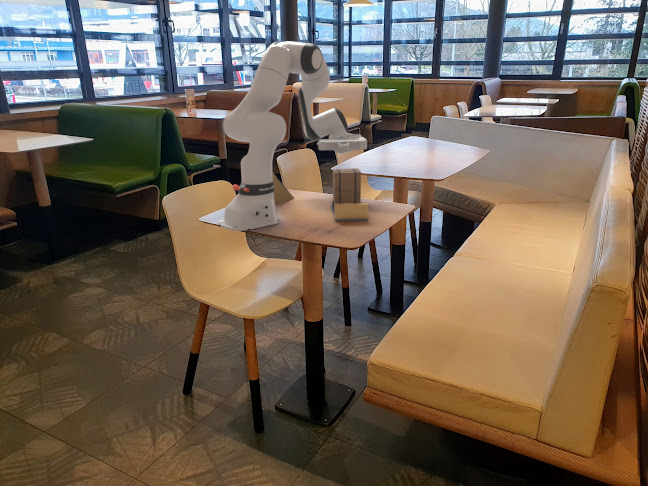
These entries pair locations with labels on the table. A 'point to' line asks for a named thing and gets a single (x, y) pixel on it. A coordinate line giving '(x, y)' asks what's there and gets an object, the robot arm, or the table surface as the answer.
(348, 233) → the table surface
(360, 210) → the roller track
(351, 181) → the crate
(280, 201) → the sandwich container
